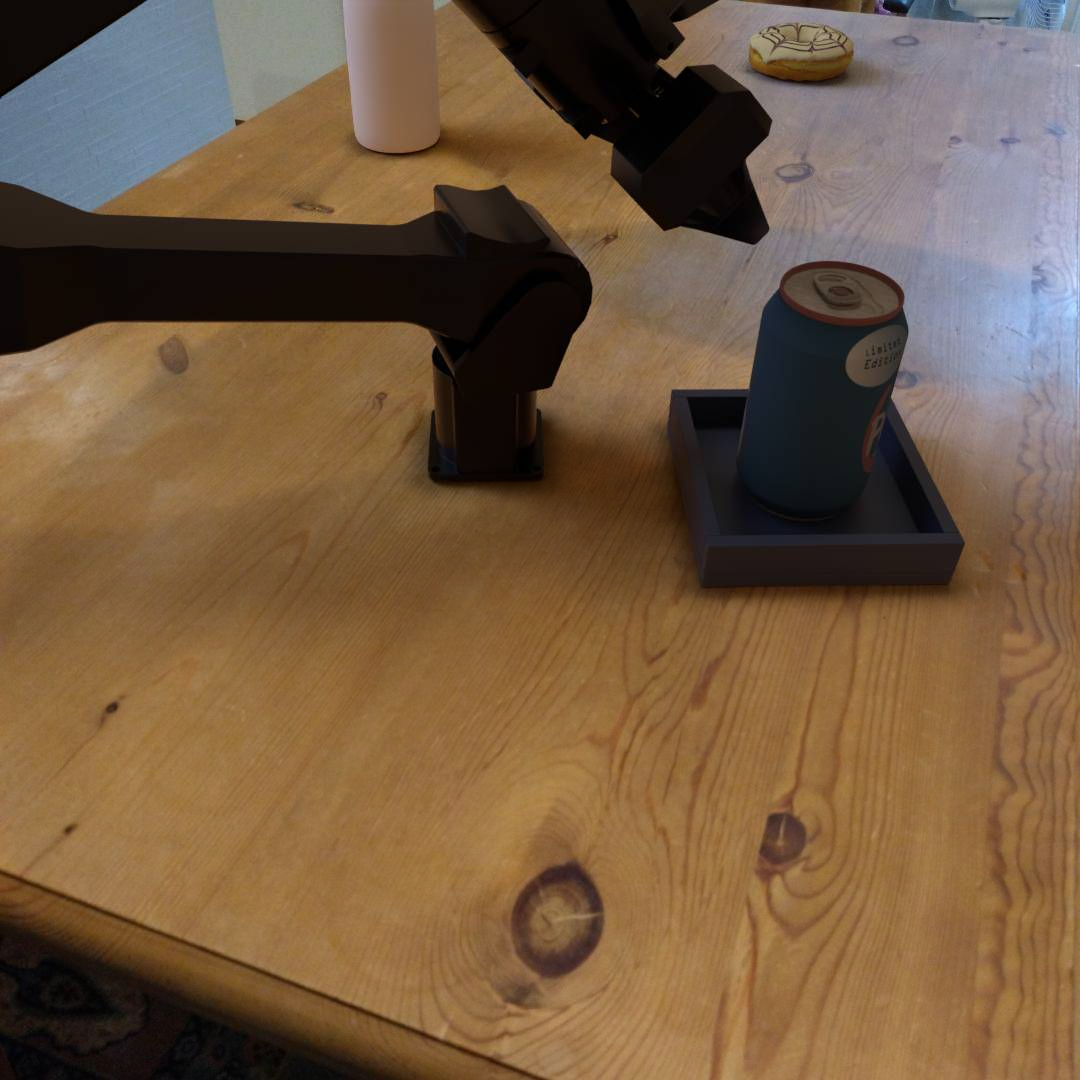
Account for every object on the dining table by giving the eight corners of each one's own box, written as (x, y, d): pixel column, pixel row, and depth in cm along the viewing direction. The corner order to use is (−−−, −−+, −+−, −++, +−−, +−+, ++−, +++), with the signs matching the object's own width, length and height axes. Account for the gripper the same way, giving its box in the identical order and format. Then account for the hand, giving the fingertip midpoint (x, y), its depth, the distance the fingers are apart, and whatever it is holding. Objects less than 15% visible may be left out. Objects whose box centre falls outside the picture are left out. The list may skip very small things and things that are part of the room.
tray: (950, 584, 53) (966, 543, 51) (701, 587, 53) (708, 546, 51) (875, 427, 63) (886, 387, 62) (666, 428, 63) (671, 389, 61)
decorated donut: (738, 53, 116) (743, 16, 114) (835, 54, 117) (842, 17, 114) (755, 85, 108) (761, 46, 106) (859, 86, 109) (867, 47, 106)
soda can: (882, 524, 55) (943, 320, 47) (754, 535, 55) (795, 330, 47) (834, 445, 61) (883, 250, 53) (717, 455, 60) (749, 258, 52)
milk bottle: (452, 149, 94) (442, -110, 81) (367, 160, 92) (343, -105, 79) (426, 119, 100) (413, -128, 87) (346, 129, 98) (320, -124, 84)
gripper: (768, -144, 36) (948, 146, 47) (582, -214, 50) (754, 24, 60) (543, 107, 40) (758, 328, 50) (425, -21, 53) (614, 174, 63)
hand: (720, 198), depth 55 cm, fingers open, 9 cm apart
